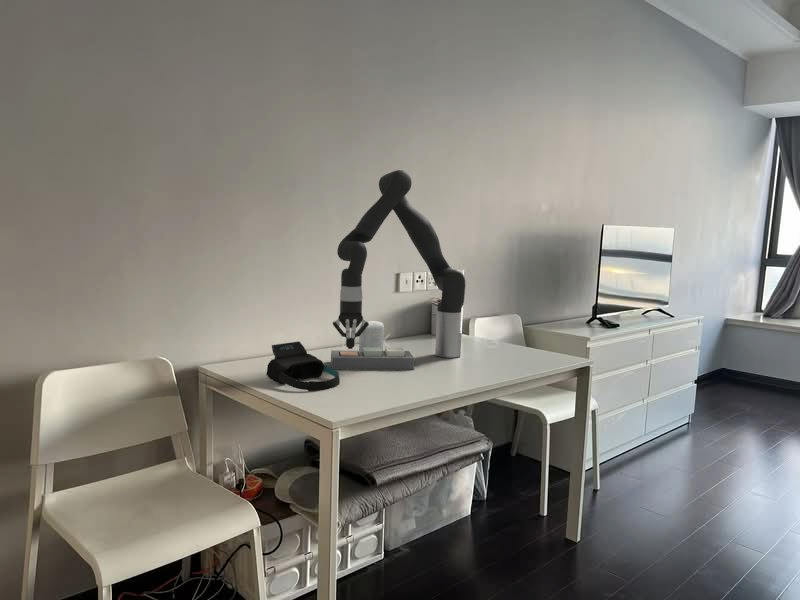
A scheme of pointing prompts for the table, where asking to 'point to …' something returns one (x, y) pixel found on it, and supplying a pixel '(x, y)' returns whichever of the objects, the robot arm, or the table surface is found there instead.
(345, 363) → the panel
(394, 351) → the cream key
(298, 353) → the virtual reality headset
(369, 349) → the sage key
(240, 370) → the table surface
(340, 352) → the terracotta key
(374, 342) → the photo printer
